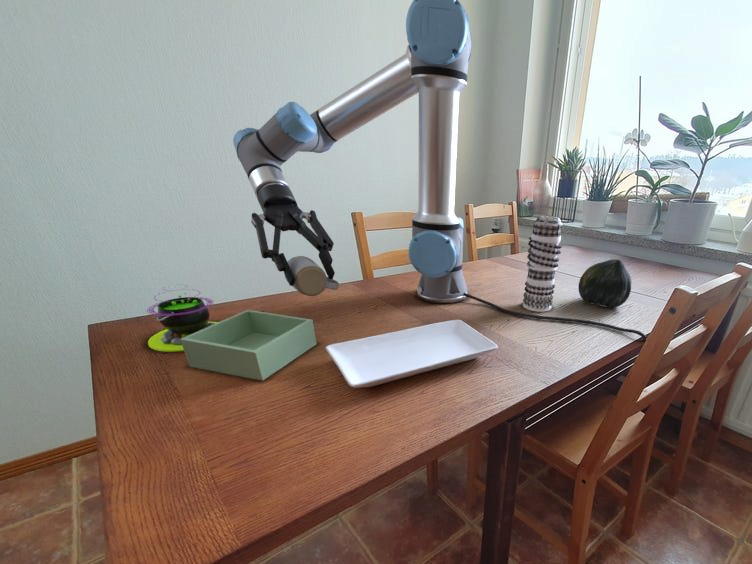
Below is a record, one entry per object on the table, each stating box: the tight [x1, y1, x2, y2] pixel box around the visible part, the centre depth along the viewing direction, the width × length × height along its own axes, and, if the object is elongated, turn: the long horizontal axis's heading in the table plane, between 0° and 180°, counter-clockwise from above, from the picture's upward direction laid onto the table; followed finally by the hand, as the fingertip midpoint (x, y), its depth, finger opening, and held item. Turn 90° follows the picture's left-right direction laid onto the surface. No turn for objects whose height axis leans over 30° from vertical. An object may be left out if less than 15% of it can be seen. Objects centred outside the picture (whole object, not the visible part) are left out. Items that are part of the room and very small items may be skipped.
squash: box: [578, 258, 632, 309], centre depth 112 cm, size 14×15×15 cm
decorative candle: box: [522, 215, 564, 313], centre depth 104 cm, size 9×9×25 cm
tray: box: [325, 319, 499, 389], centre depth 77 cm, size 17×31×4 cm, turn 124°
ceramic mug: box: [283, 255, 340, 297], centre depth 86 cm, size 11×8×8 cm
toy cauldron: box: [146, 283, 218, 353], centre depth 79 cm, size 15×15×11 cm
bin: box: [180, 309, 318, 381], centre depth 75 cm, size 16×16×6 cm
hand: (312, 279), depth 83 cm, fingers closed on ceramic mug, 8 cm apart
